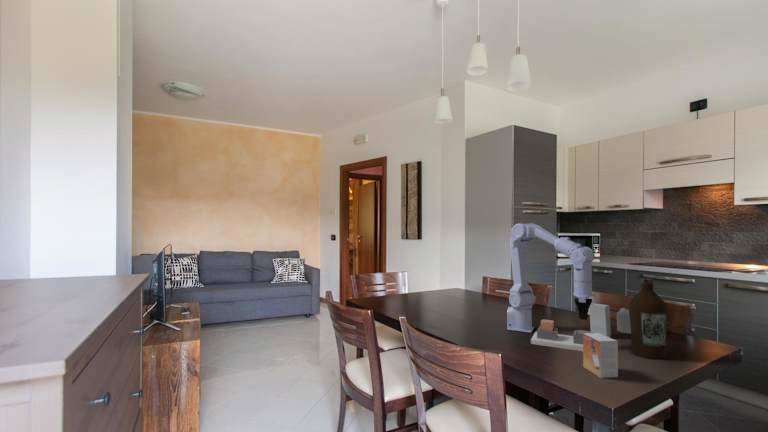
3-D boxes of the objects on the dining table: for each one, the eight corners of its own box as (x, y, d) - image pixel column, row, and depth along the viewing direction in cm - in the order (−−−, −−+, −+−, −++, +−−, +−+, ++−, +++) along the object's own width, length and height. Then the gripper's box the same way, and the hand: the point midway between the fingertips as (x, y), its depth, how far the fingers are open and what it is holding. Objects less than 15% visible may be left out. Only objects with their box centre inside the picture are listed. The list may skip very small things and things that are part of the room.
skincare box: (611, 336, 145) (610, 305, 145) (606, 338, 142) (606, 306, 142) (594, 333, 150) (593, 302, 150) (589, 335, 147) (588, 304, 147)
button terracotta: (540, 331, 139) (540, 321, 139) (542, 328, 142) (542, 319, 142) (552, 332, 137) (552, 323, 137) (553, 329, 140) (553, 320, 140)
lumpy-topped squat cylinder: (614, 330, 153) (613, 309, 153) (625, 325, 161) (625, 304, 161) (644, 336, 145) (643, 314, 145) (654, 330, 153) (653, 309, 153)
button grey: (577, 342, 133) (577, 332, 133) (578, 339, 136) (577, 329, 136) (590, 344, 131) (590, 334, 131) (590, 341, 134) (590, 331, 134)
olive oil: (624, 348, 131) (623, 276, 132) (659, 350, 129) (657, 277, 129) (637, 358, 121) (636, 281, 121) (675, 361, 119) (673, 282, 119)
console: (530, 343, 137) (530, 331, 137) (535, 335, 147) (535, 323, 147) (600, 353, 126) (600, 340, 126) (600, 343, 136) (600, 331, 136)
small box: (582, 367, 114) (582, 332, 114) (600, 366, 114) (599, 332, 115) (600, 378, 106) (599, 341, 106) (618, 377, 106) (618, 340, 107)
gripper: (595, 284, 126) (596, 325, 125) (595, 279, 138) (596, 316, 138) (571, 283, 129) (572, 322, 129) (574, 277, 142) (575, 313, 142)
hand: (583, 319), depth 134 cm, fingers closed
